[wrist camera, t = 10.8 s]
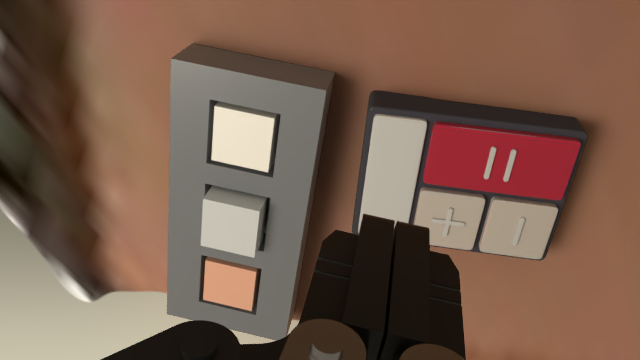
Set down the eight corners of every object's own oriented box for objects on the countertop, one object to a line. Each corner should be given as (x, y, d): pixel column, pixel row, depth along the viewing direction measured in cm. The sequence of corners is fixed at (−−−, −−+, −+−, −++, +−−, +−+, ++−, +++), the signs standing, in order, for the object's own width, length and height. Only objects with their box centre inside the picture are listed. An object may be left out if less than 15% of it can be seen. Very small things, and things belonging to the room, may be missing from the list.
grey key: (268, 194, 44) (259, 211, 41) (262, 239, 46) (254, 257, 44) (214, 182, 44) (203, 198, 42) (211, 228, 46) (200, 245, 44)
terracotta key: (264, 254, 48) (256, 272, 46) (259, 292, 50) (251, 311, 48) (215, 243, 49) (205, 260, 46) (212, 281, 51) (203, 299, 49)
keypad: (335, 72, 41) (326, 90, 38) (294, 311, 53) (284, 342, 49) (192, 43, 42) (171, 58, 38) (183, 285, 54) (167, 313, 50)
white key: (282, 105, 41) (274, 118, 39) (276, 157, 43) (268, 172, 41) (225, 94, 42) (214, 105, 39) (221, 146, 44) (211, 159, 42)
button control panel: (547, 268, 42) (350, 241, 43) (534, 236, 46) (353, 212, 47) (594, 137, 37) (367, 110, 38) (575, 112, 40) (370, 88, 41)
